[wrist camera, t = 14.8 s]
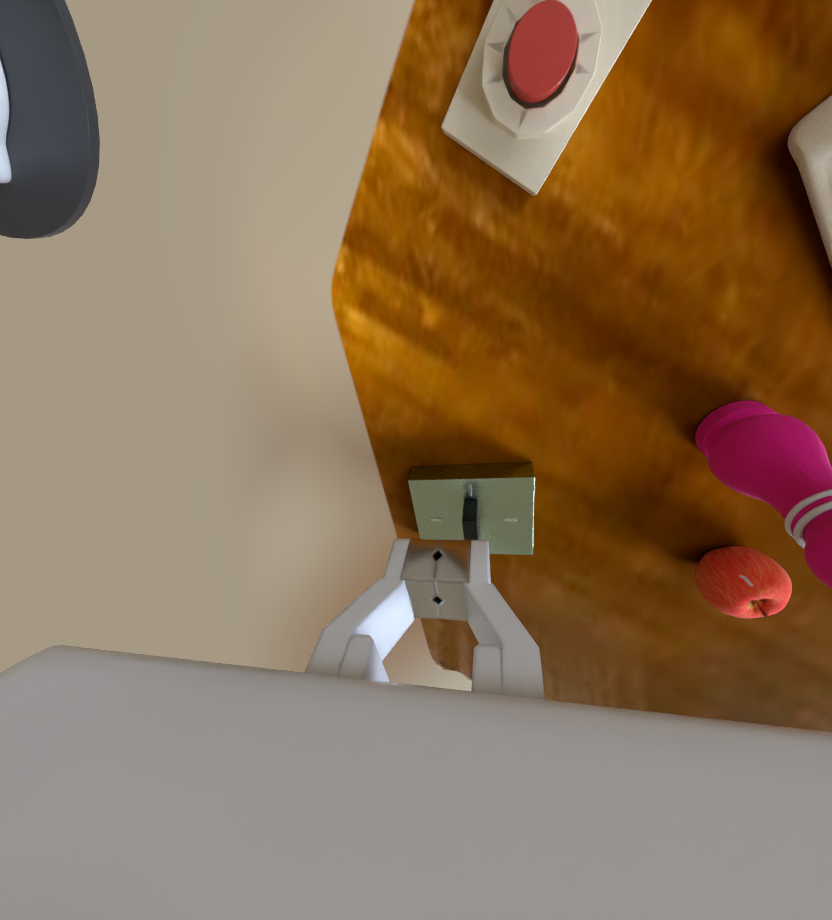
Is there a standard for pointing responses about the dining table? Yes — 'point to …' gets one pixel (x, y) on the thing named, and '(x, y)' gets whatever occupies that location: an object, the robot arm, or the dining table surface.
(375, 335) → the dining table surface
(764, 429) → the pepper mill
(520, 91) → the button
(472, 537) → the black switch lever
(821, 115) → the puzzle board
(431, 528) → the panel
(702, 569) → the apple
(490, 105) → the button block
